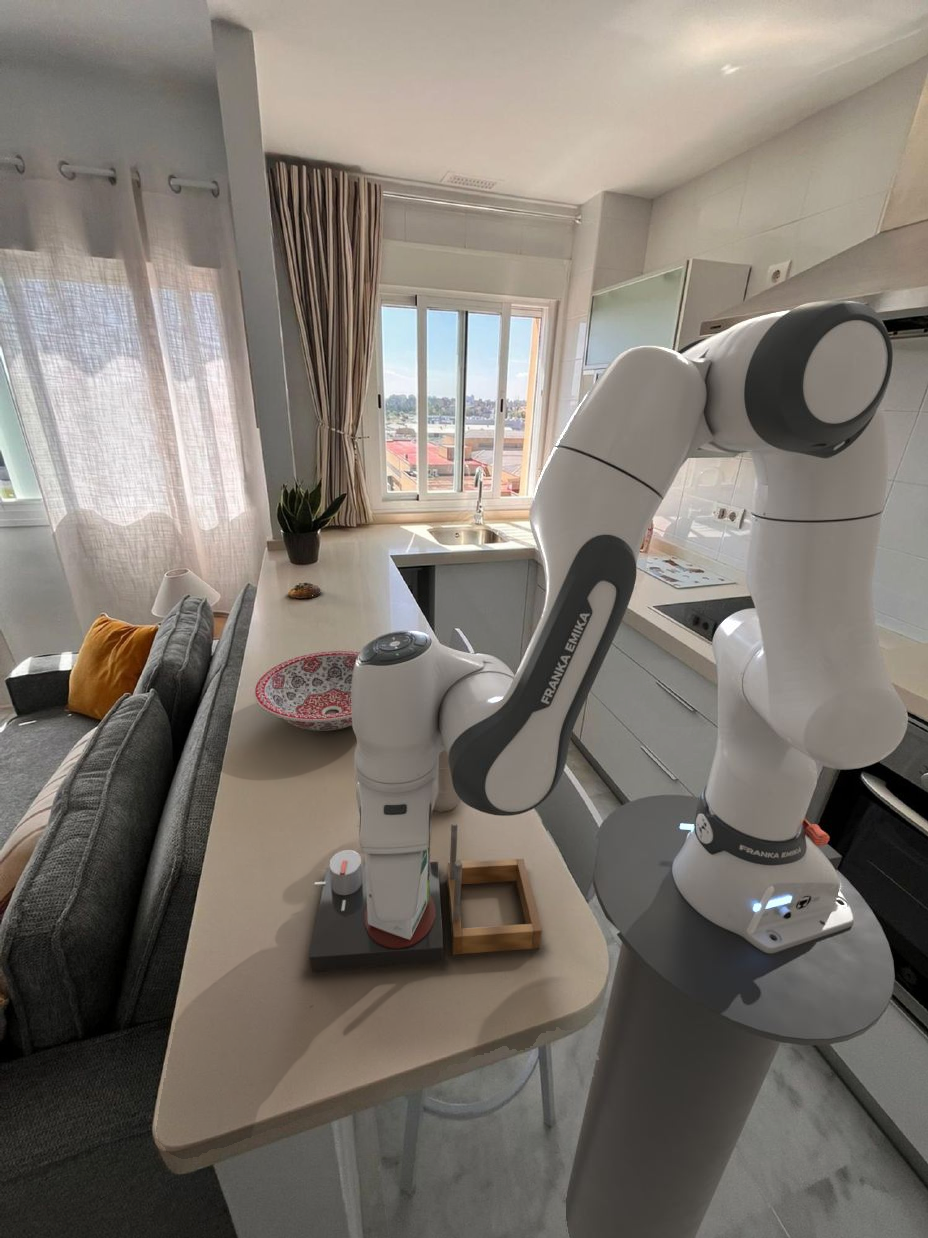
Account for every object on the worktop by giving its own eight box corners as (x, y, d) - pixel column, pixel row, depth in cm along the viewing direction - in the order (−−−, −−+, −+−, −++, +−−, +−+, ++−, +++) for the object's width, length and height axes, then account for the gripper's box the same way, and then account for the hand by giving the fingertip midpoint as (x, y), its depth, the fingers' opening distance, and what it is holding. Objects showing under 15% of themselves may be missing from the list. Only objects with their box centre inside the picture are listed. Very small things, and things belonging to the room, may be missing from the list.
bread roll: (321, 597, 173) (318, 584, 171) (288, 603, 170) (285, 590, 168) (321, 589, 183) (318, 576, 181) (290, 594, 180) (287, 581, 179)
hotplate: (433, 881, 65) (433, 880, 65) (437, 946, 57) (437, 944, 57) (367, 885, 64) (367, 884, 64) (361, 951, 56) (361, 950, 56)
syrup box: (411, 942, 57) (413, 845, 52) (365, 925, 58) (363, 829, 53) (429, 901, 62) (433, 808, 57) (387, 886, 63) (387, 795, 58)
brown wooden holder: (521, 874, 69) (528, 807, 65) (539, 948, 60) (549, 874, 55) (447, 879, 68) (449, 810, 64) (453, 955, 58) (455, 880, 54)
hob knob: (334, 869, 66) (332, 847, 65) (364, 869, 66) (363, 847, 65) (327, 896, 62) (325, 873, 61) (359, 895, 62) (358, 873, 61)
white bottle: (470, 806, 81) (475, 701, 74) (435, 823, 78) (436, 714, 70) (449, 784, 86) (452, 683, 79) (415, 798, 82) (414, 694, 75)
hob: (437, 865, 70) (437, 851, 69) (442, 962, 58) (443, 946, 57) (321, 872, 69) (319, 857, 68) (301, 973, 56) (298, 957, 55)
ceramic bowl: (279, 681, 117) (275, 651, 115) (402, 679, 120) (402, 650, 117) (238, 758, 91) (232, 721, 88) (398, 754, 93) (398, 718, 90)
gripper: (374, 724, 62) (377, 810, 67) (357, 856, 43) (363, 962, 48) (424, 722, 63) (423, 808, 68) (429, 852, 44) (428, 958, 49)
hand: (398, 874), depth 58 cm, fingers closed on syrup box, 7 cm apart
